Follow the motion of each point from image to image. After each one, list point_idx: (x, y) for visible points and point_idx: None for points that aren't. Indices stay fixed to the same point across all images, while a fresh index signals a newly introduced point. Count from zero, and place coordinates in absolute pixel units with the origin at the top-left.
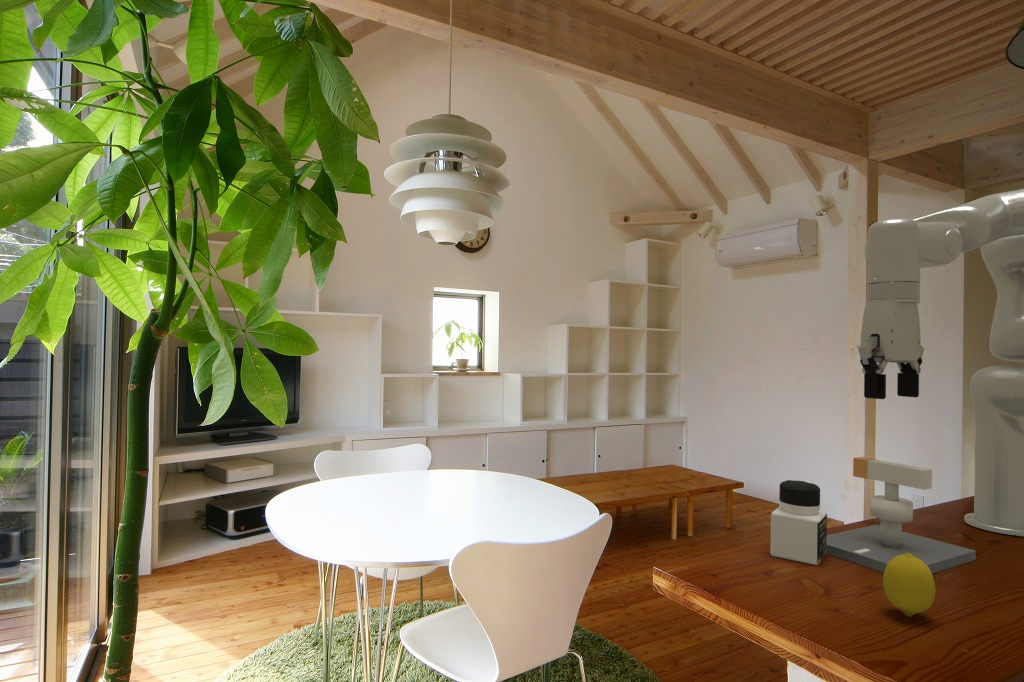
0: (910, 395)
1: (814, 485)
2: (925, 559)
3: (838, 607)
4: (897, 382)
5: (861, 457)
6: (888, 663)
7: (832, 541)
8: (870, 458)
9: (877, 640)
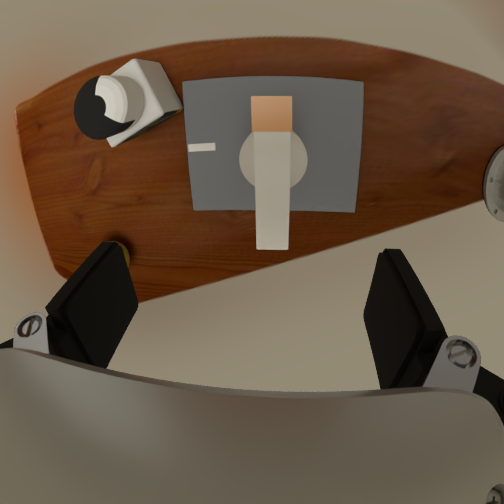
0: (367, 301)
1: (104, 130)
2: (253, 198)
3: (84, 215)
4: (408, 287)
5: (279, 101)
6: (66, 271)
7: (205, 100)
8: (289, 119)
9: (76, 256)
